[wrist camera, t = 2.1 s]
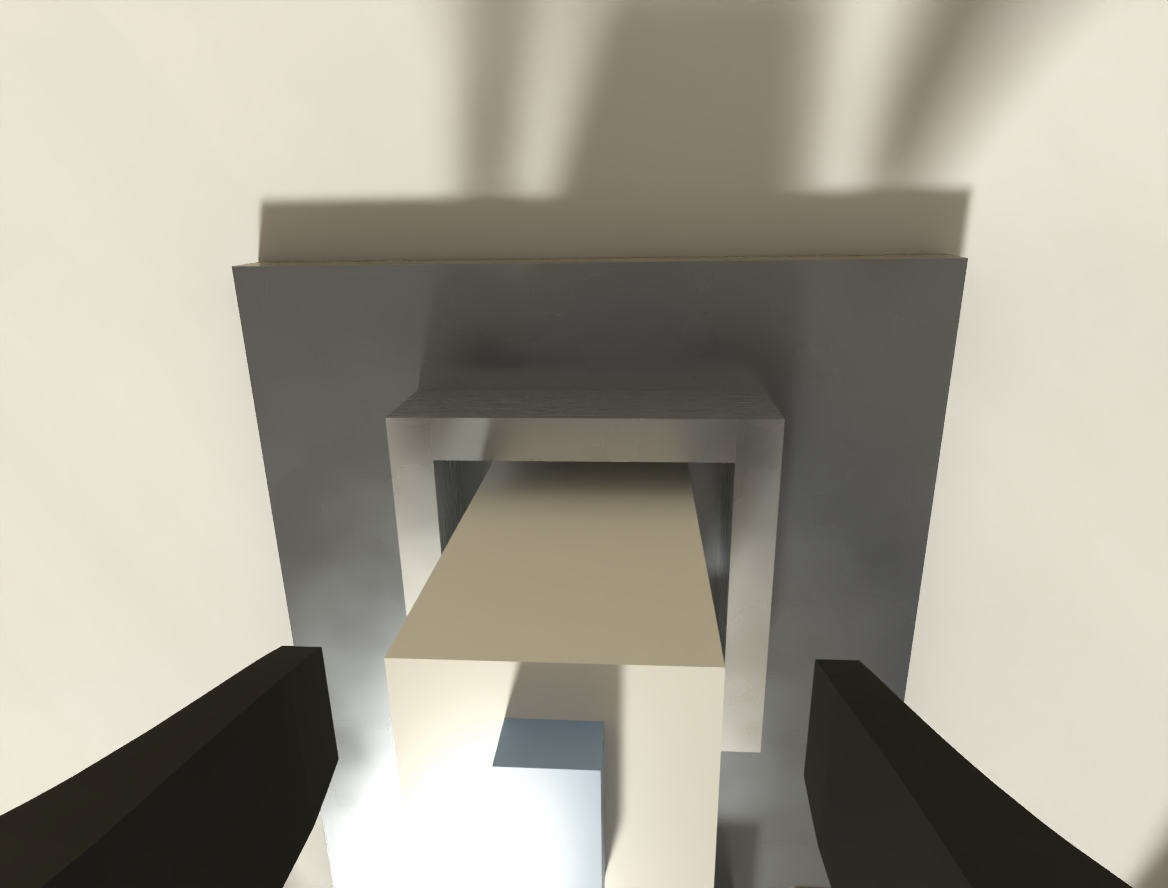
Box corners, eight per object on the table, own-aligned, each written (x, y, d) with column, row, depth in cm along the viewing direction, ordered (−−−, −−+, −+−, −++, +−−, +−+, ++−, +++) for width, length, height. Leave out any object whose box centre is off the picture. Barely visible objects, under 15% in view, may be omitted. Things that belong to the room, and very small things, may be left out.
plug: (686, 461, 15) (734, 713, 8) (681, 631, 16) (718, 987, 9) (494, 459, 15) (360, 701, 8) (503, 626, 17) (395, 968, 9)
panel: (945, 254, 14) (1022, 267, 12) (828, 1124, 23) (856, 1257, 20) (256, 262, 15) (170, 276, 12) (384, 1092, 24) (349, 1215, 21)
